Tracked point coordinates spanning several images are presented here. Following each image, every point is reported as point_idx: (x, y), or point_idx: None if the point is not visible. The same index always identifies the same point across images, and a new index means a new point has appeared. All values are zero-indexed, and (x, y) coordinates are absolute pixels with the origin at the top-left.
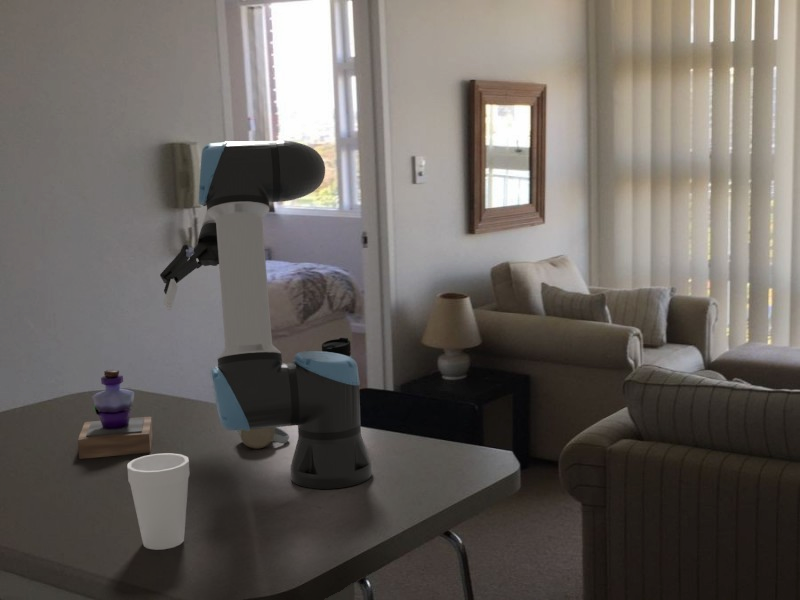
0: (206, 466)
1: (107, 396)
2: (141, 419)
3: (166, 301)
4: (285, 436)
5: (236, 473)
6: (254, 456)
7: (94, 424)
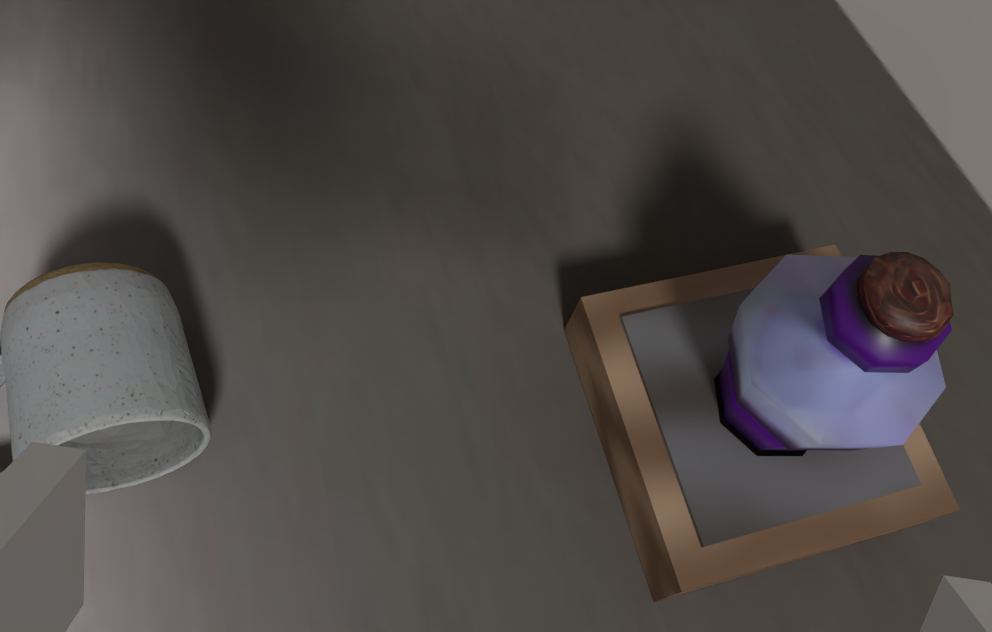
0: (300, 159)
1: (836, 272)
2: (700, 508)
3: (965, 590)
4: None
5: (179, 83)
6: (124, 250)
7: None
